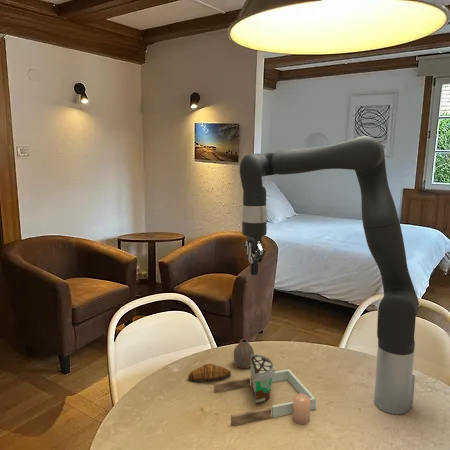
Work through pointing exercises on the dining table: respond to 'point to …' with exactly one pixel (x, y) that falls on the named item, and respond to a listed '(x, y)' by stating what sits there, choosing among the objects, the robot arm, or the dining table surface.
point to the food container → (261, 378)
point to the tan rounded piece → (301, 408)
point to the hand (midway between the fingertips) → (253, 274)
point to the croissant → (209, 373)
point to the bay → (288, 375)
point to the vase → (243, 354)
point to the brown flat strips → (245, 416)
